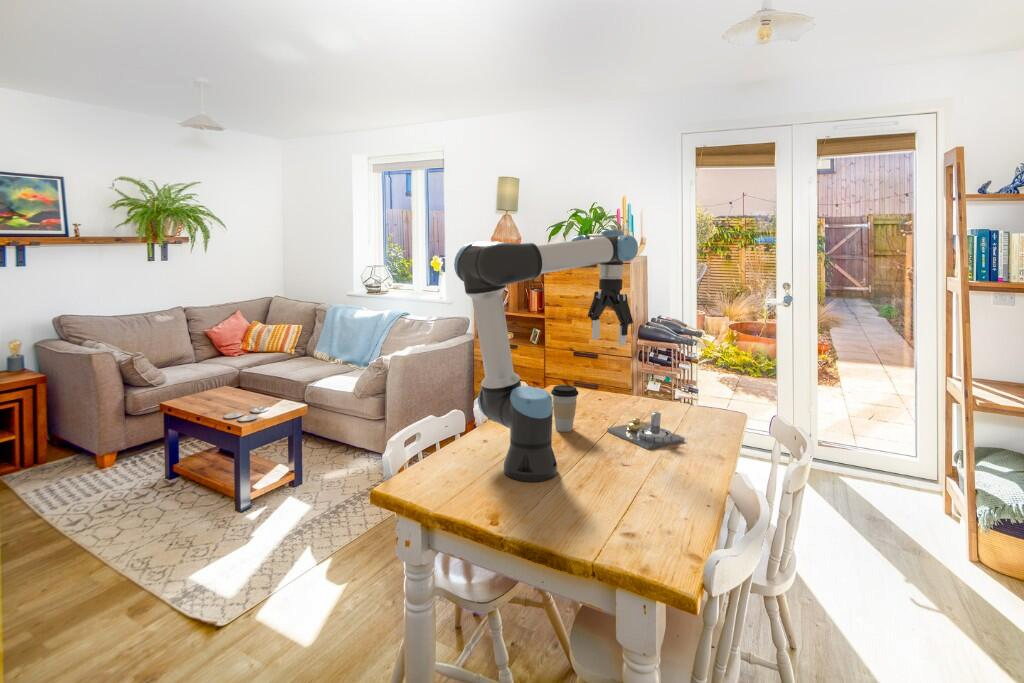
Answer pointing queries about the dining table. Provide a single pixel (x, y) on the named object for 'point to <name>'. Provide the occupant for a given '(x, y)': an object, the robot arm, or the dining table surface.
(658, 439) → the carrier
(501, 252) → the robot arm
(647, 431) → the silver round-based piece
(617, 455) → the dining table surface
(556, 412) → the coffee cup
